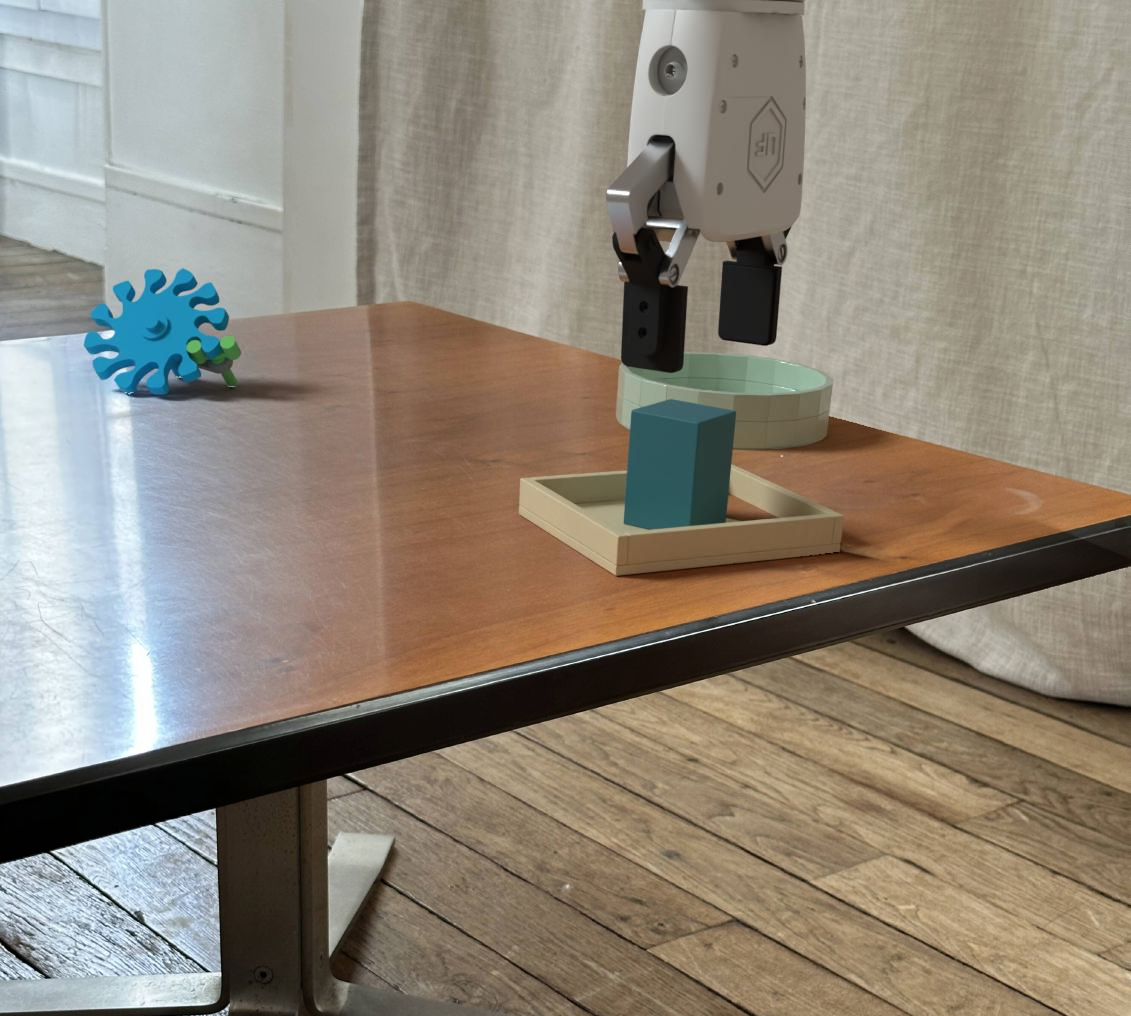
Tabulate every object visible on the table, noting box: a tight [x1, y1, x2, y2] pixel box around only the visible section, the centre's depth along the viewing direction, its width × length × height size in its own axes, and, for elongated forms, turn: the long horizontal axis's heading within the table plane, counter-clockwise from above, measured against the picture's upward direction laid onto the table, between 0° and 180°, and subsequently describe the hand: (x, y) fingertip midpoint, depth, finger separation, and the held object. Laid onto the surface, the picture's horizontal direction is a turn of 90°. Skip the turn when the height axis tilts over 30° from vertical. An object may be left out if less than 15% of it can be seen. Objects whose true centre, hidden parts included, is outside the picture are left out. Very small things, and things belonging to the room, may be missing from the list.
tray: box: [518, 463, 845, 577], centre depth 84 cm, size 13×11×2 cm
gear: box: [83, 267, 242, 396], centre depth 111 cm, size 11×6×10 cm
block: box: [623, 399, 736, 530], centre depth 83 cm, size 4×4×6 cm
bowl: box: [615, 351, 834, 450], centre depth 106 cm, size 14×14×4 cm
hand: (701, 354), depth 81 cm, fingers open, 9 cm apart
